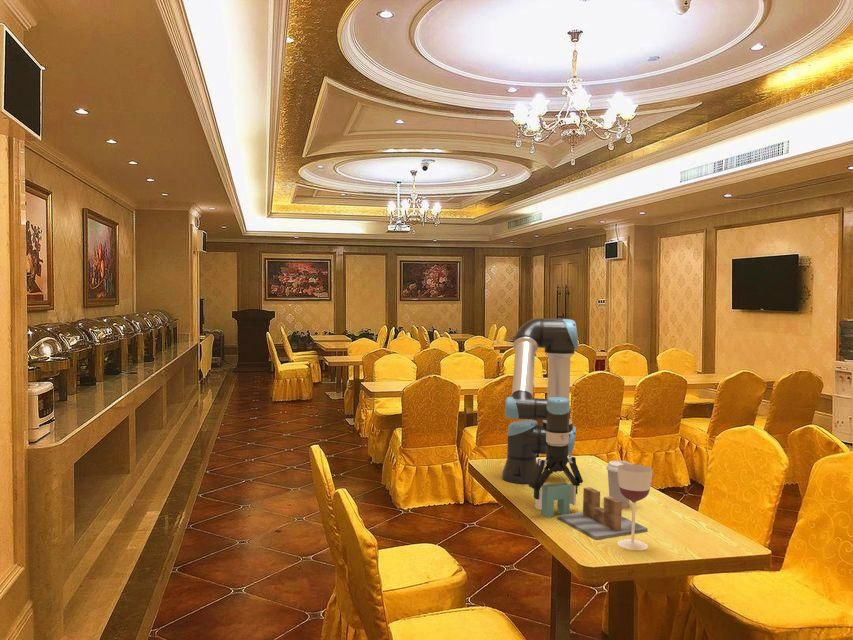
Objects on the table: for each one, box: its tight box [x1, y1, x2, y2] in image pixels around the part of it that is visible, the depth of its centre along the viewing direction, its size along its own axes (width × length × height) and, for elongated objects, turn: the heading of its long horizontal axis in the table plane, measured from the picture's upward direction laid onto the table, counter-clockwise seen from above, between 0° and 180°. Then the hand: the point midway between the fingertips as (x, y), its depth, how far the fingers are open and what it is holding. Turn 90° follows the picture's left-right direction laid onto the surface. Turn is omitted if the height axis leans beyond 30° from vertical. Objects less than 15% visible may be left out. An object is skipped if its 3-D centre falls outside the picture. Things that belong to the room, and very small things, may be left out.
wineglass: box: [617, 463, 654, 551], centre depth 194 cm, size 9×10×23 cm
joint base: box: [556, 486, 648, 541], centre depth 211 cm, size 20×20×10 cm
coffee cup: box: [605, 460, 632, 509], centre depth 231 cm, size 10×10×15 cm
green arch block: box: [540, 481, 571, 518], centre depth 220 cm, size 4×9×10 cm, turn 114°
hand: (555, 506), depth 221 cm, fingers open, 13 cm apart
